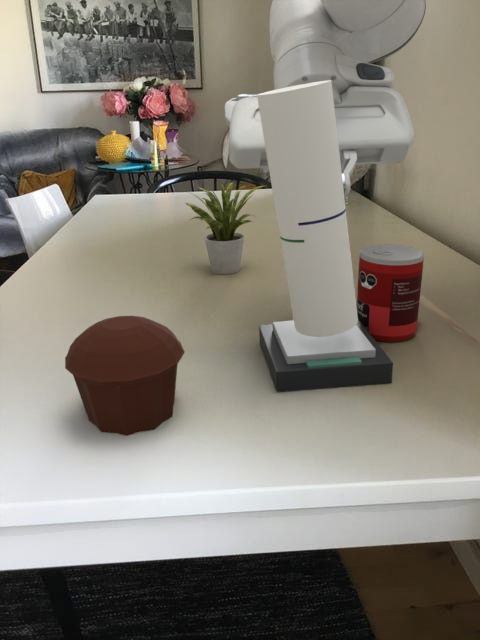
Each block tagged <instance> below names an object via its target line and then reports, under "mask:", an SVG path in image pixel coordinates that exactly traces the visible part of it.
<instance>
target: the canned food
mask: <svg viewBox="0 0 480 640" xmlns="http://www.w3.org/2000/svg"><path fill="white" fill-rule="evenodd" d="M358 258H359V259H358V270H357V271H358V275H357V295H356V306H357V315H358V320H359V321H360V322H361V324H362V325H363V326H364V327H365V329H366V330H367V331H368V332H369V334H370V335H371V336H372V337H373V338H374V340H375V341H378V342H385V343H387V342H388V343H398V342H403V341H407V340H410V339H411V338H413V337H414V335H415V334H416V332H417V328H418V321H419V320H418V319H419V311H420V301H421V293H422V292H421V291H422V280H423V272H424V260H425V258H424V252H423V251H422V250H421V249H418V248H416V247H413V246H409V245H402V244H392V243H388V244H387V243H382V244H372V245H367V246H364V247H362V248H361V249H360V250H359V257H358Z"/></svg>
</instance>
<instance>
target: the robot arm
mask: <svg viewBox="0 0 480 640" xmlns="http://www.w3.org/2000/svg"><path fill="white" fill-rule="evenodd" d="M426 9H427V3H426V0H272V2H271V6H270V9H269V19H268V22H269V23H268V28H269V29H268V31H269V32H268V33H269V48H270V54H271V55H270V56H271V58H272V61H273V63H274V65H273V72H272V73H273V74H272V78H273V90H277V89H281V88H286V87H291V86H296V85H301V84H306V83H312V82H319V81H326V80H331V82H332V91H333V100H334V109H335V118H336V127H337V136H338V145H339V154H340V163H341V172H342V181H343V190H344V196H349V195H350V192H351V185H352V183H351V177H352V175H353V173H354V171H355V168H356V165H357V166H359V165H379V164H380V165H384V164H386V165H387V164H401V163H403V162H404V161H405V160H406V158H408V155H409V154H410V152H411V150H412V148H413V145H414V143H415V129H414V125H413V121H412V118H411V114H410V112H409V109H408V106H407V104H406V101H405V99H404V98H403V95H401V93H399V92H398V91H397V90H395V89H394V84H395V73H394V71H393V70H392V68H390V67H387V66H383V65H378V64H374V63H377V62H379V61H382V60H385V59H387V58H388V57H390V56H392V55H394V54H396V53H398V52H399V51H401V50H402V49H403V48H405V46H407V45H408V44H409V42H410V41H411V40H412V39H413V38H414V36H415V35H416V34H417V33H418V30H419V28H420V27H421V25H422V23H423V20H424V17H425V15H426ZM261 93H262V92H260V93H252V94H251V93H238V94H236V97H232V98H230V99H228V100H227V101H225V103H224V107H223V115H224V121H225V123H226V124H227V125H228V126H229V132H228V133H229V135H228V136H229V137H228V139H229V140H228V149H229V150H228V152H229V154H228V156H229V157H228V159H229V163H231V164H232V165H233V166H234V167H235V168H236V169H238V170H243V169H244V170H245V169H269V166H268V160H267V154H266V148H265V142H264V135H263V129H262V123H261V117H260V111H259V105H258V98H257V95H258V94H261Z"/></svg>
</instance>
